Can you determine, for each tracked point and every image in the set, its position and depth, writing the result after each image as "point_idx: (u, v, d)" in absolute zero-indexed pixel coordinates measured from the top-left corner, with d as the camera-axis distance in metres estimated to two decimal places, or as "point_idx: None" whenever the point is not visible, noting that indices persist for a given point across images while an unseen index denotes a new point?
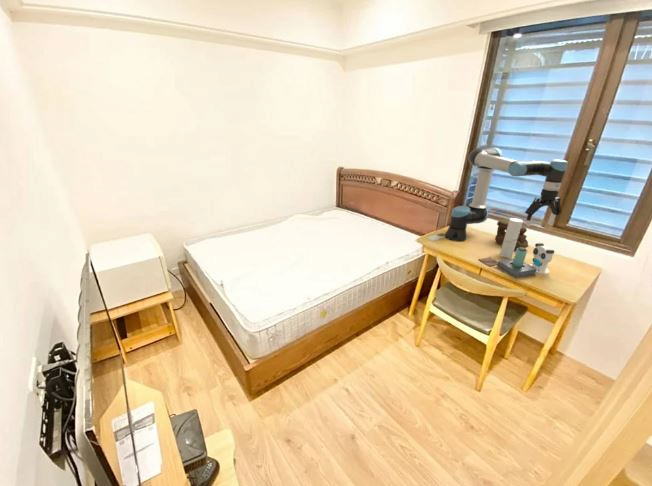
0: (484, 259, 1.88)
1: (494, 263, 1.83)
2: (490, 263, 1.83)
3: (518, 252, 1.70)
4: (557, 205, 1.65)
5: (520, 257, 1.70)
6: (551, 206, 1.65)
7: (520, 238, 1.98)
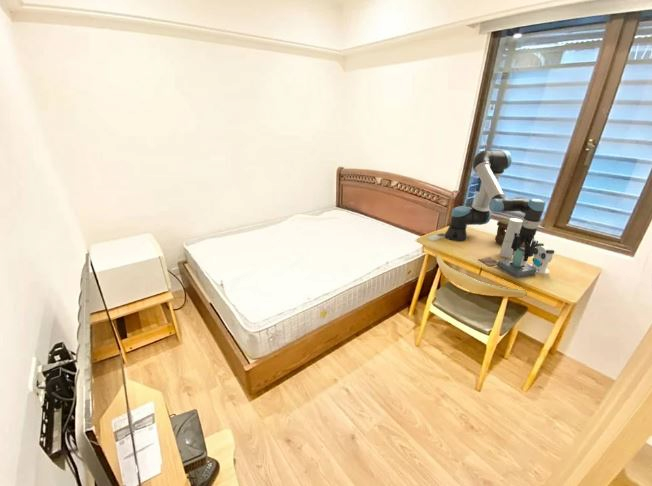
0: (484, 259, 1.88)
1: (494, 263, 1.83)
2: (490, 263, 1.83)
3: (518, 252, 1.70)
4: None
5: (520, 256, 1.70)
6: None
7: None
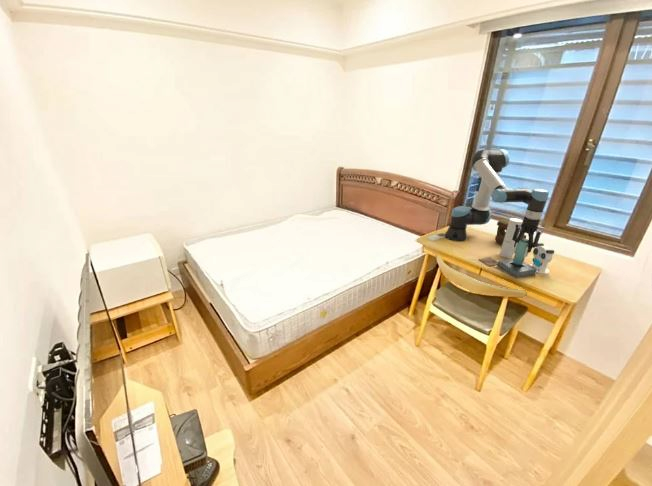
0: (484, 259, 1.88)
1: (494, 263, 1.83)
2: (490, 263, 1.83)
3: (522, 244, 1.68)
4: None
5: (524, 248, 1.68)
6: None
7: None
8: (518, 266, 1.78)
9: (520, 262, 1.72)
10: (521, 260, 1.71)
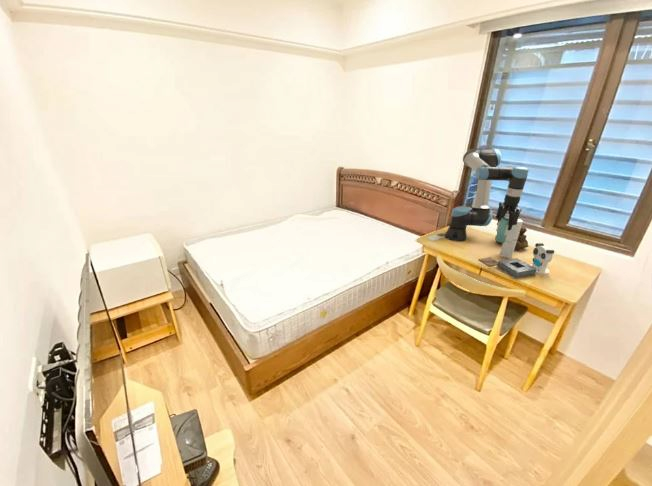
0: (484, 259, 1.88)
1: (494, 263, 1.83)
2: (490, 263, 1.83)
3: (502, 221, 1.72)
4: None
5: (505, 226, 1.72)
6: None
7: (520, 238, 1.98)
8: (518, 266, 1.78)
9: (501, 240, 1.76)
10: (502, 238, 1.75)
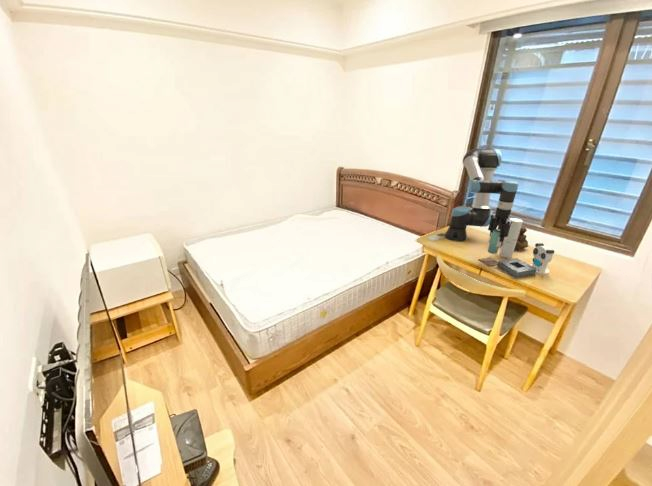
0: (484, 259, 1.88)
1: (494, 263, 1.83)
2: (490, 263, 1.83)
3: (494, 233, 1.77)
4: None
5: (496, 238, 1.76)
6: None
7: (520, 238, 1.98)
8: (518, 266, 1.78)
9: (493, 251, 1.80)
10: (494, 249, 1.79)
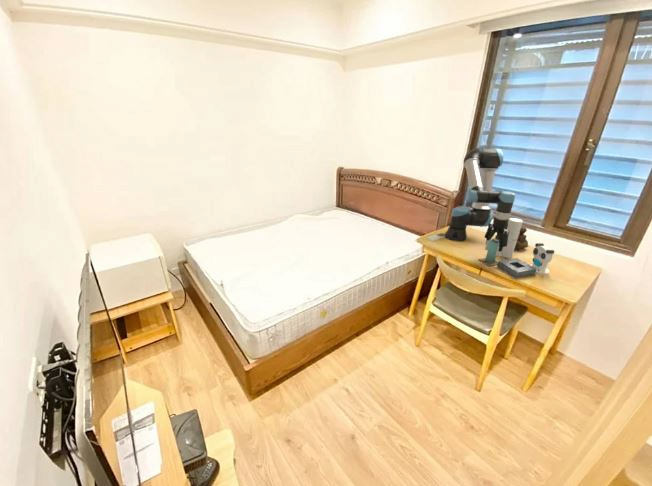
0: (484, 259, 1.88)
1: (494, 263, 1.83)
2: (490, 263, 1.83)
3: (491, 243, 1.79)
4: None
5: (494, 248, 1.79)
6: None
7: (520, 238, 1.98)
8: (518, 266, 1.78)
9: (490, 261, 1.83)
10: (491, 259, 1.82)
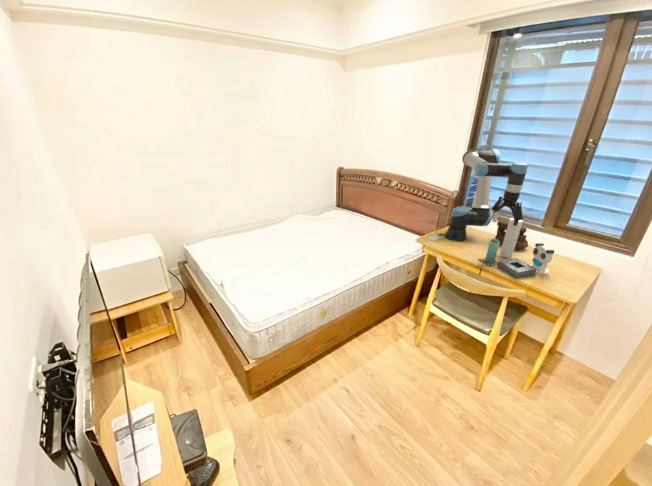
0: (484, 259, 1.88)
1: (494, 263, 1.83)
2: (490, 263, 1.83)
3: (491, 243, 1.80)
4: None
5: (493, 247, 1.79)
6: None
7: (520, 238, 1.98)
8: (518, 266, 1.78)
9: (490, 261, 1.83)
10: (491, 259, 1.82)
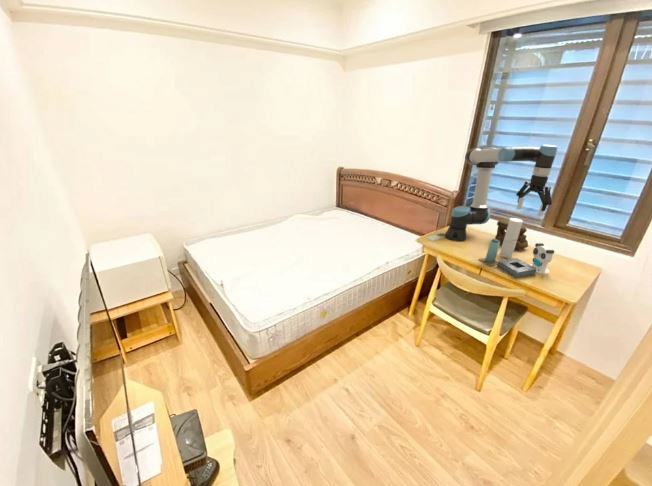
0: (484, 259, 1.88)
1: (494, 263, 1.83)
2: (490, 263, 1.83)
3: (491, 243, 1.79)
4: None
5: (494, 248, 1.79)
6: None
7: (520, 238, 1.98)
8: (518, 266, 1.78)
9: (490, 261, 1.83)
10: (491, 259, 1.82)
